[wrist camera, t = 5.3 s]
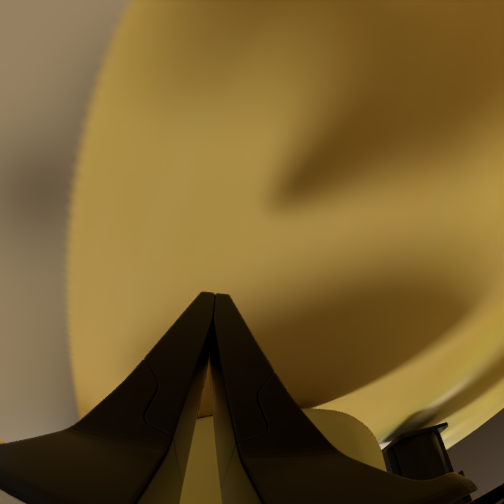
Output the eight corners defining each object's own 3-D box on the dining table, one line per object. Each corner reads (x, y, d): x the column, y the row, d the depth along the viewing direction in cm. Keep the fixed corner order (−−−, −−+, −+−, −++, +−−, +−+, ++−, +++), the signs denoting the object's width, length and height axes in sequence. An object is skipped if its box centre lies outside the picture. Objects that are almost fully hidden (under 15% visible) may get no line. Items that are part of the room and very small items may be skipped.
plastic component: (136, 443, 21) (123, 538, 13) (74, 401, 18) (44, 511, 9) (363, 390, 17) (400, 524, 9) (335, 324, 14) (392, 527, 5)
